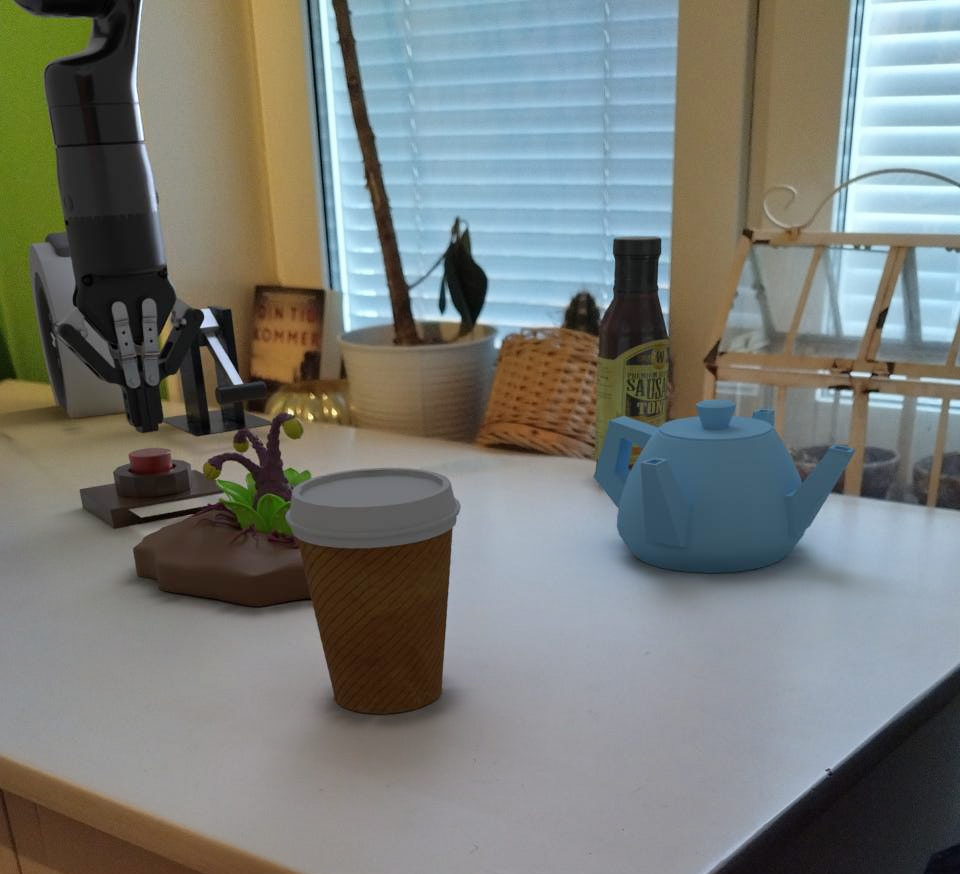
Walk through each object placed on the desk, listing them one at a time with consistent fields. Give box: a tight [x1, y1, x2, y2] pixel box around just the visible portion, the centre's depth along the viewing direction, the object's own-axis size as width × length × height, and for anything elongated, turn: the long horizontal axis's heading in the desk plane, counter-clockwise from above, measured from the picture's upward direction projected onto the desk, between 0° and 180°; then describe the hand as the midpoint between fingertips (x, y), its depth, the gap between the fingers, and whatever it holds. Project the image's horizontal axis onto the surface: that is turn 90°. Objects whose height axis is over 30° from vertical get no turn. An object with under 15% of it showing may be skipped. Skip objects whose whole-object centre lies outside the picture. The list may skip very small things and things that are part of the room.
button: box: [128, 447, 173, 474], centre depth 115 cm, size 4×4×2 cm
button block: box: [79, 458, 225, 530], centre depth 116 cm, size 11×9×4 cm
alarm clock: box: [28, 231, 126, 419], centre depth 151 cm, size 21×8×20 cm, turn 23°
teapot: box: [593, 398, 856, 574], centre depth 96 cm, size 15×15×11 cm
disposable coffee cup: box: [285, 467, 462, 715], centre depth 74 cm, size 10×10×12 cm
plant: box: [132, 411, 312, 608], centre depth 98 cm, size 20×20×11 cm
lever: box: [198, 308, 268, 406], centre depth 136 cm, size 12×5×2 cm
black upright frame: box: [163, 304, 273, 437], centre depth 140 cm, size 12×9×13 cm
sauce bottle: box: [594, 235, 671, 471], centre depth 115 cm, size 6×6×20 cm
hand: (146, 430), depth 114 cm, fingers closed
